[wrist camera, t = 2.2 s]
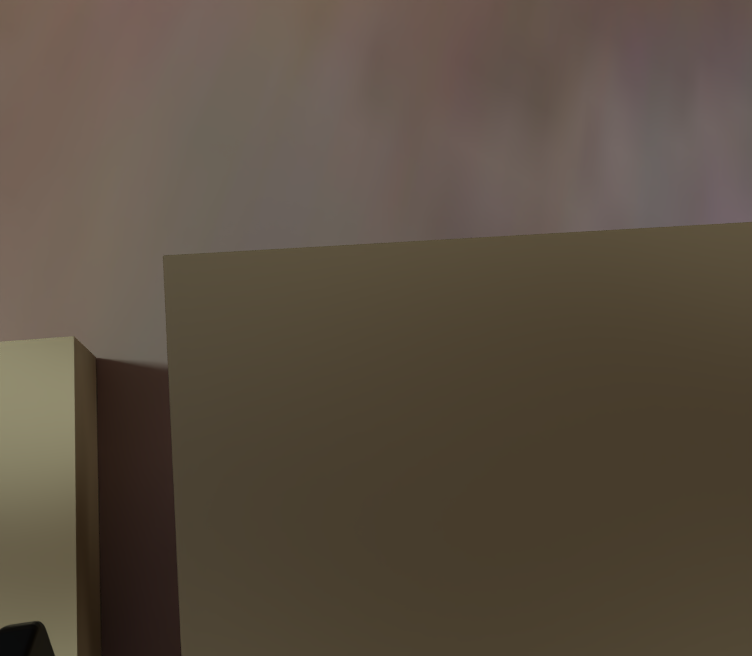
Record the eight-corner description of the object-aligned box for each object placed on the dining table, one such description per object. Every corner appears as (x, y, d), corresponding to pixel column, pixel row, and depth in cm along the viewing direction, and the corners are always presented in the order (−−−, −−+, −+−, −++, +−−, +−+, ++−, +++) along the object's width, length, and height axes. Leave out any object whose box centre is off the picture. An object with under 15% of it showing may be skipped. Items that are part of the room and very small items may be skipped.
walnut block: (462, 630, 16) (974, 911, 5) (252, 664, 16) (201, 1127, 4) (432, 423, 18) (771, 221, 6) (236, 444, 17) (162, 255, 5)
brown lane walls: (665, 709, 17) (717, 734, 15) (27, 834, 14) (-10, 883, 12) (583, 317, 19) (618, 294, 17) (30, 362, 17) (0, 341, 15)
